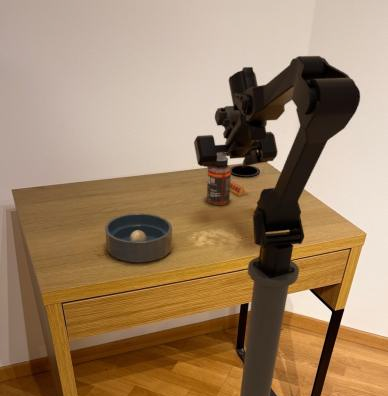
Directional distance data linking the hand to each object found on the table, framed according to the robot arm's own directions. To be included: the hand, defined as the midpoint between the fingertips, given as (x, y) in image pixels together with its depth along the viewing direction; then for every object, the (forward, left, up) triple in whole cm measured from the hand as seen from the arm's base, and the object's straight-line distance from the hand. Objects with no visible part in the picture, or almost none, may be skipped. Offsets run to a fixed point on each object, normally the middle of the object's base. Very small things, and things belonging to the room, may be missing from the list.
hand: (225, 165), depth 120 cm
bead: (-11, +28, -8) cm, 31 cm away
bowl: (-11, +28, -11) cm, 32 cm away
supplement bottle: (+4, -1, -11) cm, 12 cm away
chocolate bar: (+11, -9, -11) cm, 18 cm away
